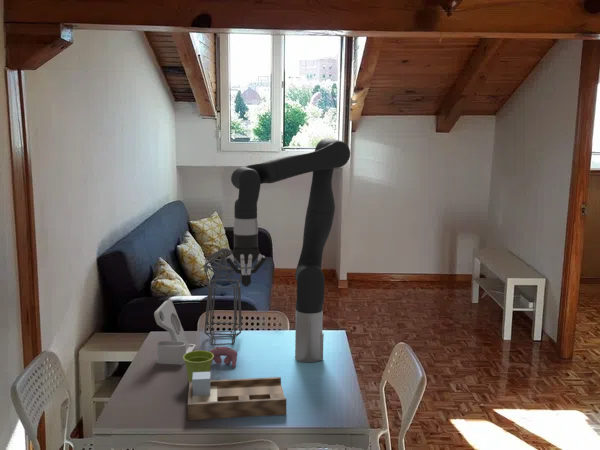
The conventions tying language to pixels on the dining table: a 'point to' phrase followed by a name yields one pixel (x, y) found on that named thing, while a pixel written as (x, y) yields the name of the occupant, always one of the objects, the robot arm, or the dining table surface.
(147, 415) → the dining table surface
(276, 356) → the dining table surface
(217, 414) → the box
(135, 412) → the dining table surface
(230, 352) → the video game controller
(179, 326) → the phone holder
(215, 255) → the geometric lantern
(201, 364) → the plant pot
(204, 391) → the block
